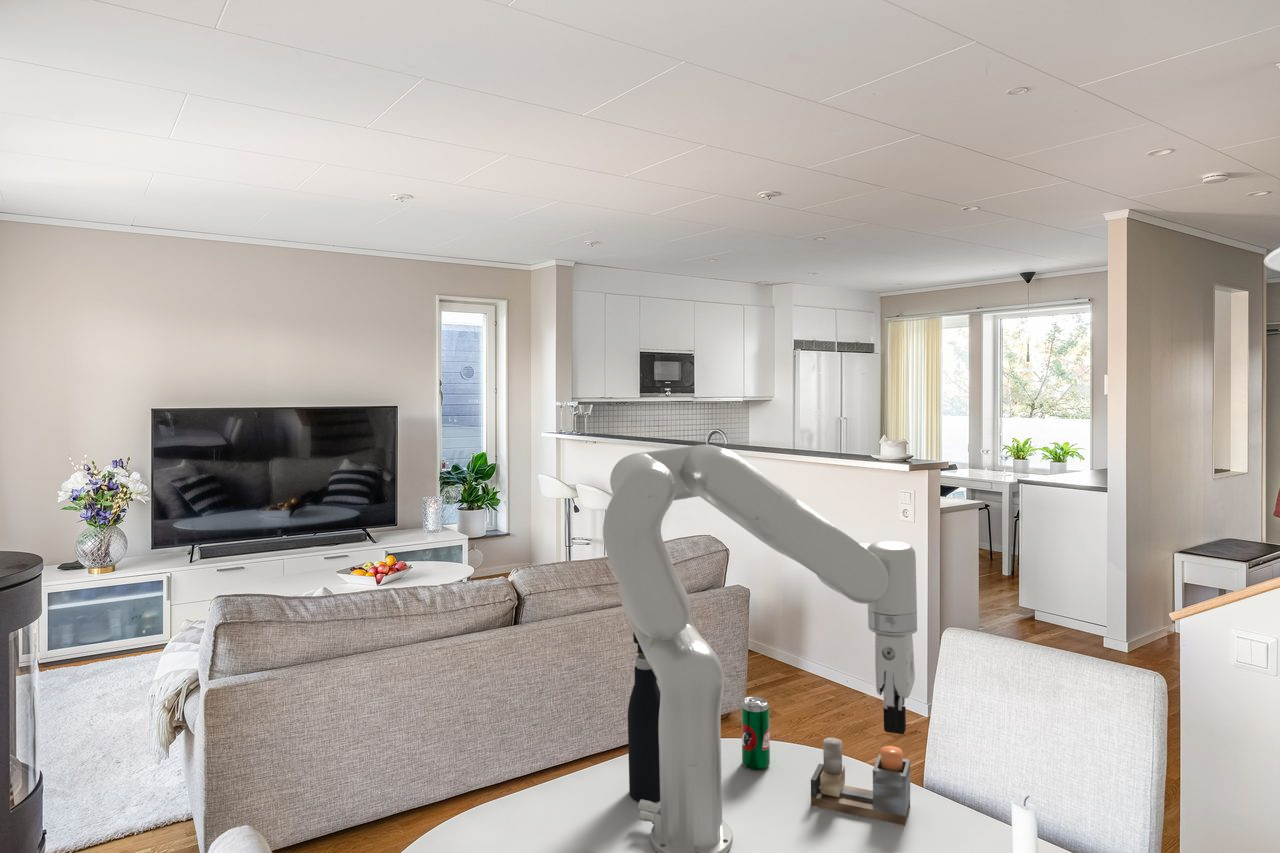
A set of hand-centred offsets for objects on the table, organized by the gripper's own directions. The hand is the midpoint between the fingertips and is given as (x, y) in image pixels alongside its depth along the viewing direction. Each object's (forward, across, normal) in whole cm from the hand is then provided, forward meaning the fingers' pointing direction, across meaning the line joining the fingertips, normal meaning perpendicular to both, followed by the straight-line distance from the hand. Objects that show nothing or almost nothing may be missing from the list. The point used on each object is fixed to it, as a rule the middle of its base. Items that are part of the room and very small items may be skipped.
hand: (895, 730), depth 130 cm
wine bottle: (+13, -10, +40) cm, 43 cm away
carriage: (+11, 0, +10) cm, 15 cm away
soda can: (+13, +6, +26) cm, 30 cm away
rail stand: (+13, 0, +6) cm, 15 cm away
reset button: (+6, 0, +1) cm, 6 cm away
